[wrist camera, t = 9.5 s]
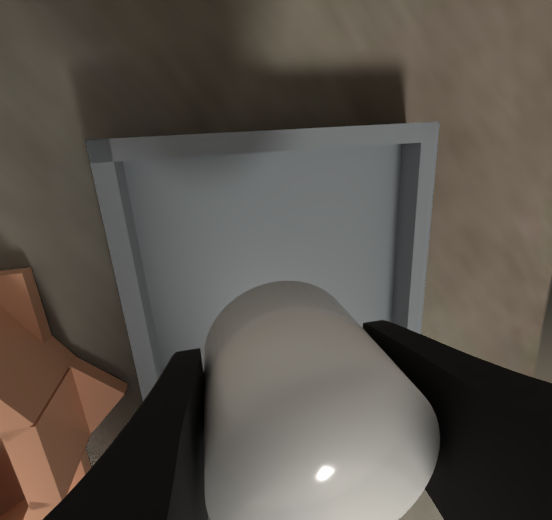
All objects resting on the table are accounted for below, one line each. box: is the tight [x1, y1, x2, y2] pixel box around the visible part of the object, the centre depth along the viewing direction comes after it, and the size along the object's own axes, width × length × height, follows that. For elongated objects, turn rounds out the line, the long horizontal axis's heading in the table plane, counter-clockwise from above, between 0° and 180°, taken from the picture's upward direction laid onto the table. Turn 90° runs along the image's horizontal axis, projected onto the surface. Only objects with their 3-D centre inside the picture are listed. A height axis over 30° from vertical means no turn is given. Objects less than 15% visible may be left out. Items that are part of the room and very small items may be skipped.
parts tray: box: [85, 122, 440, 520], centre depth 18 cm, size 20×14×2 cm
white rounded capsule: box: [204, 281, 440, 520], centre depth 8 cm, size 4×4×4 cm
